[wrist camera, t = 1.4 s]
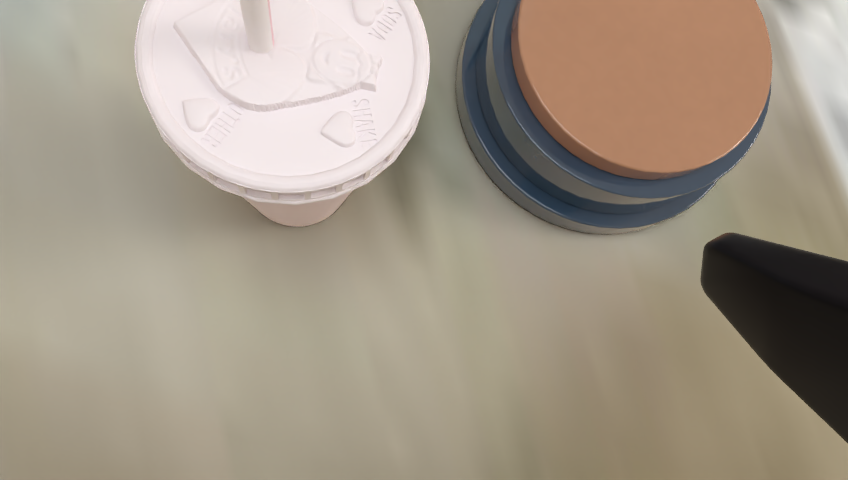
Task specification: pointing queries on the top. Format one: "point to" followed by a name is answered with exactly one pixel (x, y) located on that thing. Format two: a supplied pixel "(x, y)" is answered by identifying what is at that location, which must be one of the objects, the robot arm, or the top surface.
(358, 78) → the smoothie
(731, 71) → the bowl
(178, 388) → the top surface
